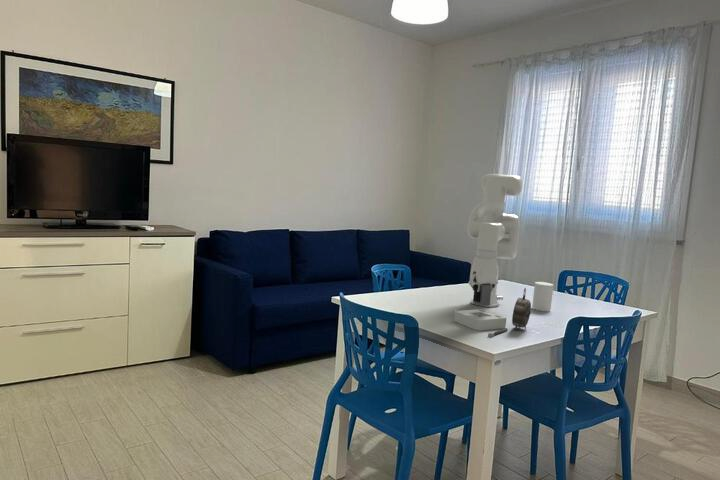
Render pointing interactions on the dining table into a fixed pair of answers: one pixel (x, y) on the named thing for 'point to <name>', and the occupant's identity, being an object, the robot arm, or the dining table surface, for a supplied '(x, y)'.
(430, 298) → the dining table surface
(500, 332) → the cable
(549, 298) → the cup
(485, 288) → the charger
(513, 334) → the dining table surface
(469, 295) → the dining table surface
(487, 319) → the plate
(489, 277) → the robot arm
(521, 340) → the dining table surface
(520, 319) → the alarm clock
